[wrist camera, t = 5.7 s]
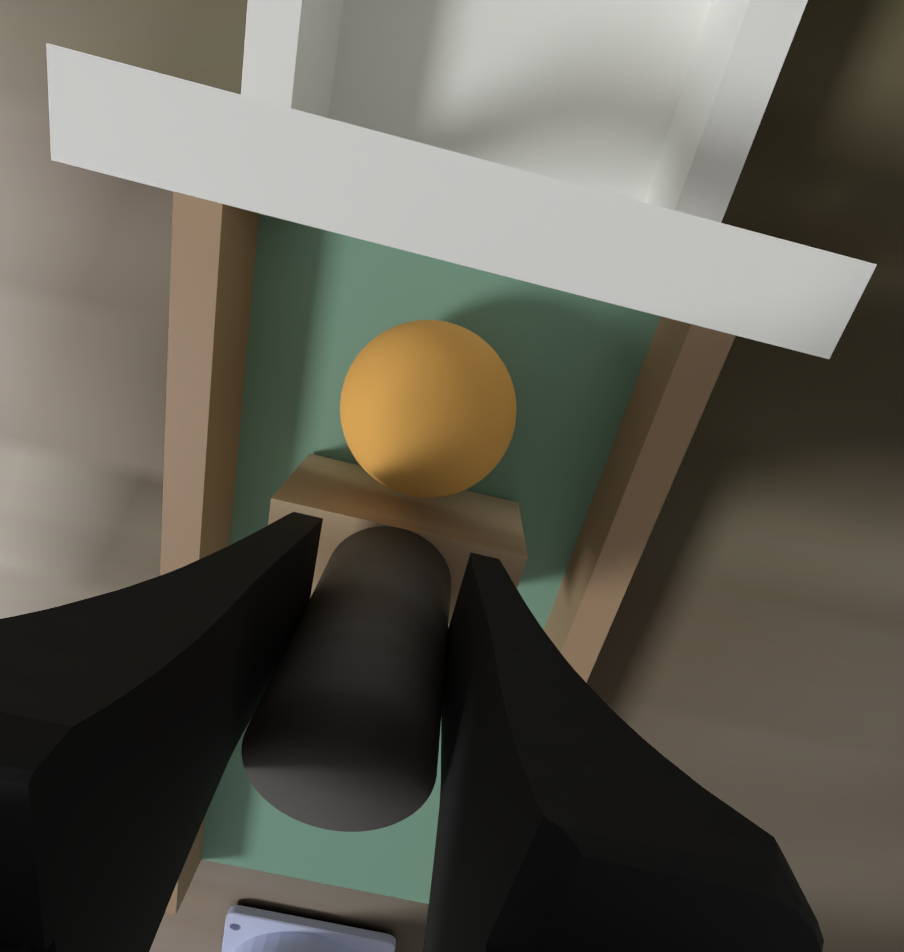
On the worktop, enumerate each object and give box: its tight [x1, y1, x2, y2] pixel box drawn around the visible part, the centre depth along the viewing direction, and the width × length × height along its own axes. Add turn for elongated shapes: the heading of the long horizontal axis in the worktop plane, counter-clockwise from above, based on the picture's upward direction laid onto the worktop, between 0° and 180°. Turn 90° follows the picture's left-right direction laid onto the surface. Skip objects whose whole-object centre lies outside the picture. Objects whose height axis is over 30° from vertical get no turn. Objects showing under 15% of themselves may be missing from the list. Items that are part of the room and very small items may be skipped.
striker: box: [241, 453, 528, 832], centre depth 12 cm, size 3×6×8 cm, turn 77°
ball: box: [340, 320, 517, 498], centre depth 12 cm, size 4×4×4 cm
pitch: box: [46, 0, 877, 915], centre depth 14 cm, size 32×12×8 cm, turn 167°
